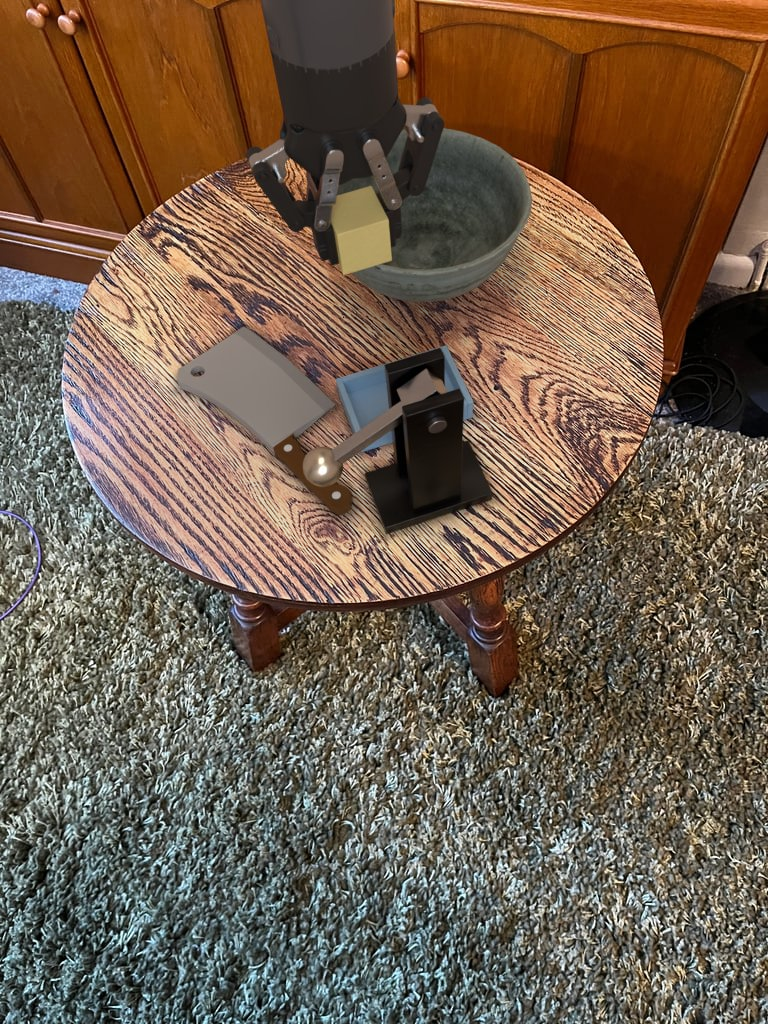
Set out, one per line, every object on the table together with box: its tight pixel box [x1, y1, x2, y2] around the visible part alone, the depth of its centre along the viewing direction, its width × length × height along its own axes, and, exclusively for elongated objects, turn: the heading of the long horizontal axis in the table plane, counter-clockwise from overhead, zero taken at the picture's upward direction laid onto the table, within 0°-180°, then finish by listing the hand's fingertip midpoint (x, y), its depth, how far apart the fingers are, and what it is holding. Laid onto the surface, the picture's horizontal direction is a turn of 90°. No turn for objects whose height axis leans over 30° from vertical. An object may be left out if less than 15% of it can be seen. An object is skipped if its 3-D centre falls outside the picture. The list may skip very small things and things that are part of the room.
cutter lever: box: [303, 369, 447, 487], centre depth 59 cm, size 13×3×3 cm
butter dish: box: [335, 345, 474, 453], centre depth 73 cm, size 11×7×2 cm, turn 108°
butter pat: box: [331, 186, 392, 276], centre depth 59 cm, size 4×4×4 cm
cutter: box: [364, 347, 494, 535], centre depth 62 cm, size 10×6×16 cm, turn 108°
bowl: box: [337, 127, 533, 303], centre depth 78 cm, size 21×21×10 cm
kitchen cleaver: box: [177, 326, 353, 516], centre depth 74 cm, size 24×1×10 cm
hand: (359, 248), depth 60 cm, fingers closed on butter pat, 4 cm apart
